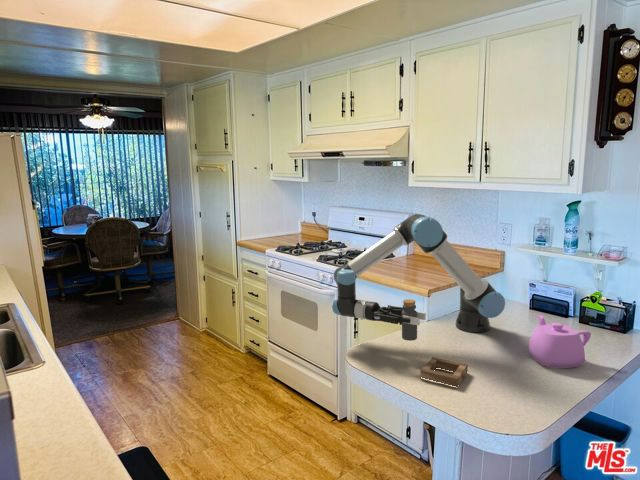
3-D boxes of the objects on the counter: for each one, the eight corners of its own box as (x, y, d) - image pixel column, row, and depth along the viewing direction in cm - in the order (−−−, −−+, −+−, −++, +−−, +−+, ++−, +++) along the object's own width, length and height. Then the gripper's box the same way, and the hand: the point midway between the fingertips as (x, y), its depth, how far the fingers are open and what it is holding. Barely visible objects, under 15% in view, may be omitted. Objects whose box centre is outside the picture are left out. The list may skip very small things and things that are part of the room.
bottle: (403, 334, 177) (402, 298, 174) (417, 335, 175) (417, 299, 173) (401, 340, 171) (400, 302, 169) (416, 341, 170) (416, 303, 167)
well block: (432, 365, 168) (432, 356, 168) (467, 373, 161) (467, 364, 161) (420, 379, 158) (420, 370, 157) (457, 388, 150) (457, 378, 150)
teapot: (601, 370, 160) (604, 331, 158) (543, 372, 161) (545, 332, 158) (567, 345, 183) (569, 310, 180) (516, 347, 183) (517, 312, 181)
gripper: (378, 312, 190) (430, 320, 177) (357, 326, 174) (413, 336, 162) (377, 295, 189) (430, 302, 176) (356, 308, 173) (413, 317, 161)
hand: (422, 318), depth 169 cm, fingers closed on bottle, 6 cm apart
